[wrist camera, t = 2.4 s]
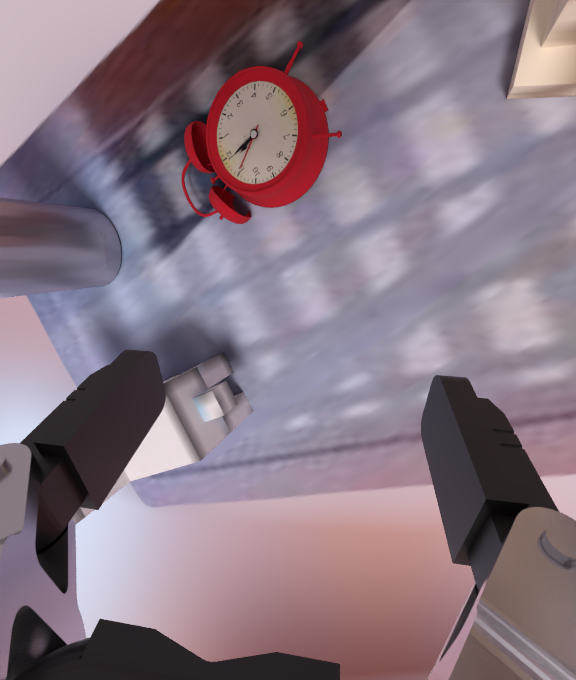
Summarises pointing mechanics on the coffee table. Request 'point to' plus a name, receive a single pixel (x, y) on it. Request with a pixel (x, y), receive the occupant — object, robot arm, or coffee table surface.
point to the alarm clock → (260, 140)
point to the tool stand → (546, 51)
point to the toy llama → (186, 423)
